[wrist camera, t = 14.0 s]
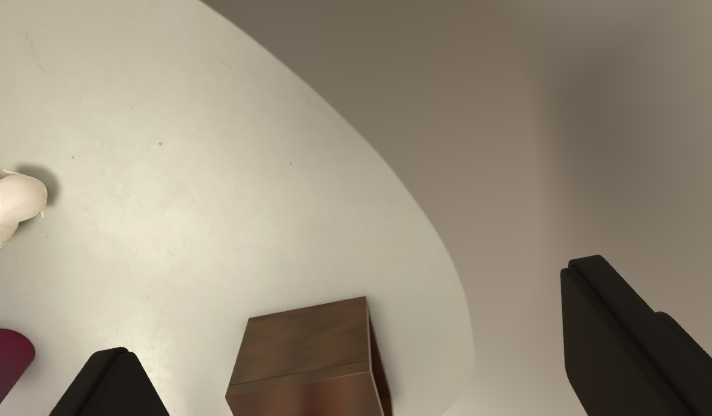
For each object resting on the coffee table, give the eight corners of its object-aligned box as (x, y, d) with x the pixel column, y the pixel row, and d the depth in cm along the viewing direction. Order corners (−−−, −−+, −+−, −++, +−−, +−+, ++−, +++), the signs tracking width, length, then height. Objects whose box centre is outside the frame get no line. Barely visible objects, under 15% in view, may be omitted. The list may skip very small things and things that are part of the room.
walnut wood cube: (365, 295, 46) (369, 371, 37) (392, 397, 52) (401, 484, 43) (248, 318, 47) (224, 397, 38) (287, 416, 53) (274, 504, 44)
